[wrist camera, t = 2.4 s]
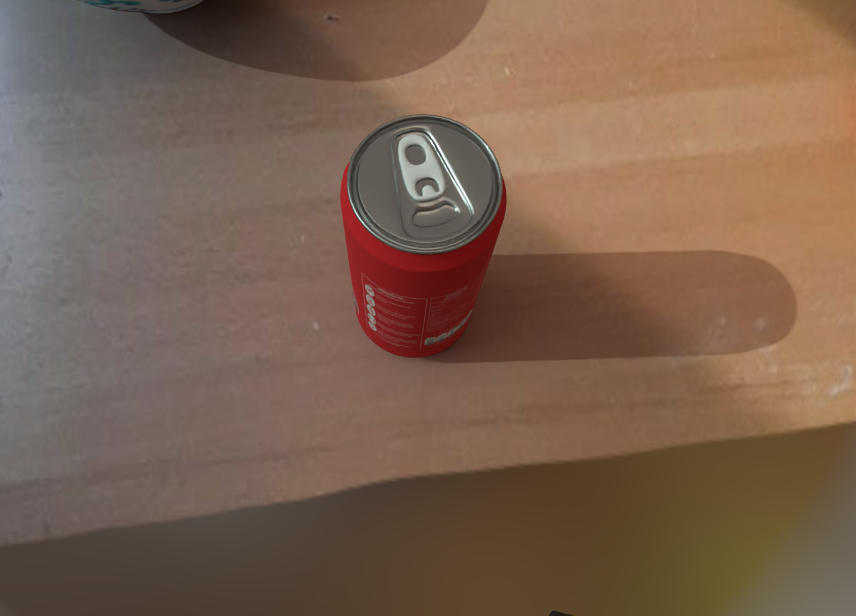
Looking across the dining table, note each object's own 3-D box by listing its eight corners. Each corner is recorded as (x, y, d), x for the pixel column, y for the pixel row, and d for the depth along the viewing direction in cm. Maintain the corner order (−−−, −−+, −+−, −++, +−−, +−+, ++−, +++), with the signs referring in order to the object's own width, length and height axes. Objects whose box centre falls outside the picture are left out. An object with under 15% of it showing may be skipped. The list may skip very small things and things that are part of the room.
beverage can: (373, 377, 32) (365, 280, 21) (343, 272, 34) (319, 128, 22) (485, 345, 33) (534, 235, 21) (450, 244, 34) (479, 90, 23)
